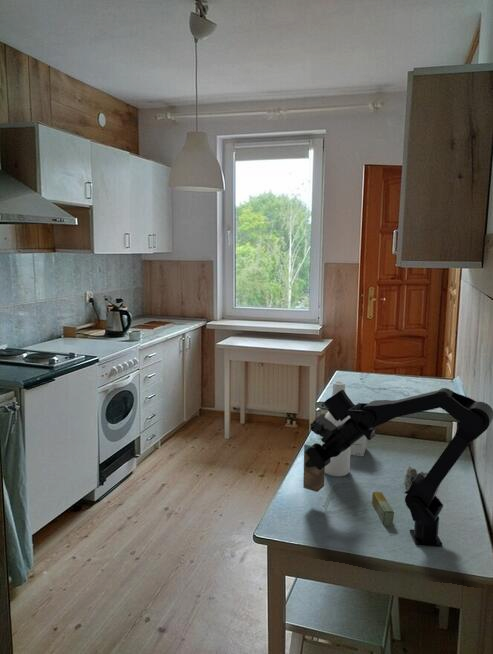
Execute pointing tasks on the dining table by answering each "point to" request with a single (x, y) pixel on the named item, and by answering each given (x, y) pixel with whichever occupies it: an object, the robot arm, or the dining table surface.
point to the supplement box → (359, 447)
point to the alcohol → (342, 462)
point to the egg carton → (411, 476)
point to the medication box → (382, 508)
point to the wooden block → (312, 471)
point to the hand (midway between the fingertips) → (310, 462)
